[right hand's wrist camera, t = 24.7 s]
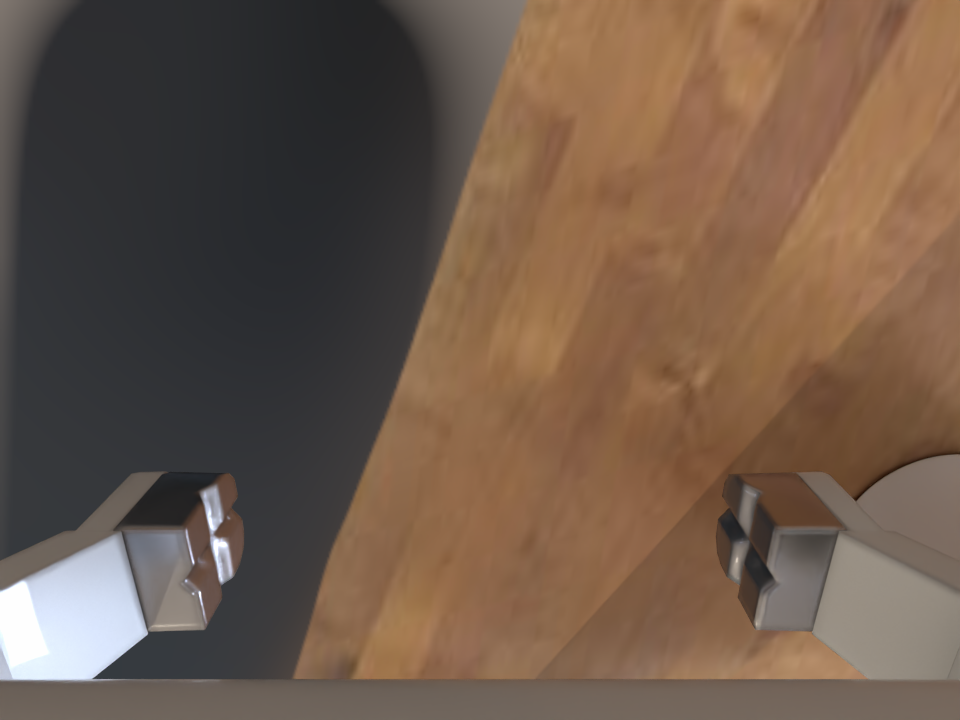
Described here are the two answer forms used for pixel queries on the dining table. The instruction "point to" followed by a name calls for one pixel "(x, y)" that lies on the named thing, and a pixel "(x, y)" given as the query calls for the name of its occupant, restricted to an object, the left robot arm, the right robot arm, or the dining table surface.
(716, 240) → the dining table surface
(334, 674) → the dining table surface
